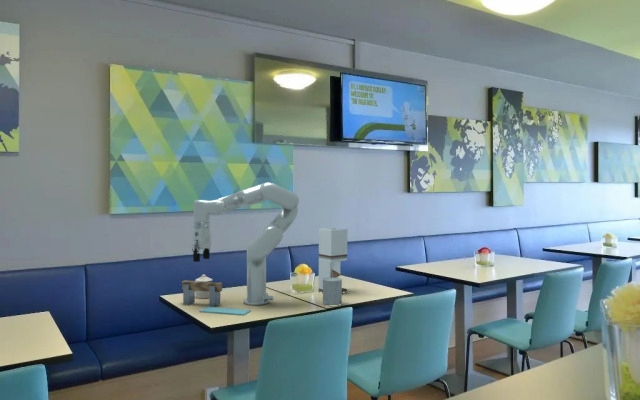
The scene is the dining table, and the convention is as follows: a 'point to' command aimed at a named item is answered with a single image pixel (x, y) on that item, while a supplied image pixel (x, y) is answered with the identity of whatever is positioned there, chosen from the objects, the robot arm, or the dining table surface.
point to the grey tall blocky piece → (331, 253)
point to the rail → (202, 285)
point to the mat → (225, 311)
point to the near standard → (213, 297)
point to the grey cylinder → (332, 291)
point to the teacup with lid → (203, 293)
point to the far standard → (188, 295)
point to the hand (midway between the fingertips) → (201, 260)
